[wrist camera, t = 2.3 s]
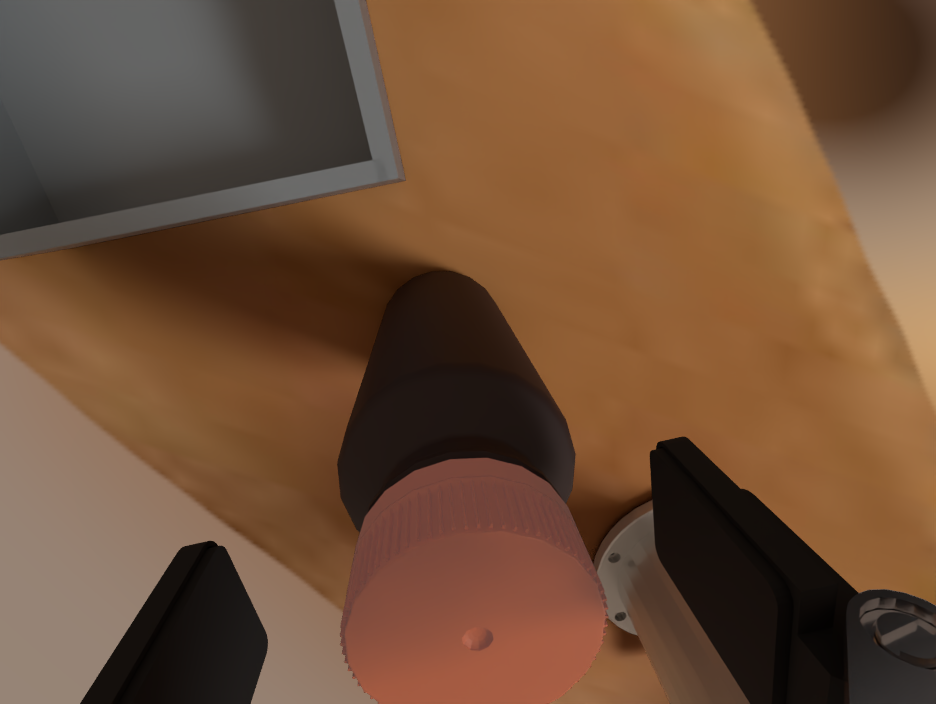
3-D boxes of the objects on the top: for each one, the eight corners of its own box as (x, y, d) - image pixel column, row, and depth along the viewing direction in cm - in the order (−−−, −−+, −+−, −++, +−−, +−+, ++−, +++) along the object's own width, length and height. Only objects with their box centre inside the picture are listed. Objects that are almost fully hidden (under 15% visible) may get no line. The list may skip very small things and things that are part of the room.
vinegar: (523, 326, 28) (731, 620, 9) (443, 403, 29) (475, 806, 10) (440, 243, 26) (480, 395, 7) (357, 329, 27) (200, 659, 8)
